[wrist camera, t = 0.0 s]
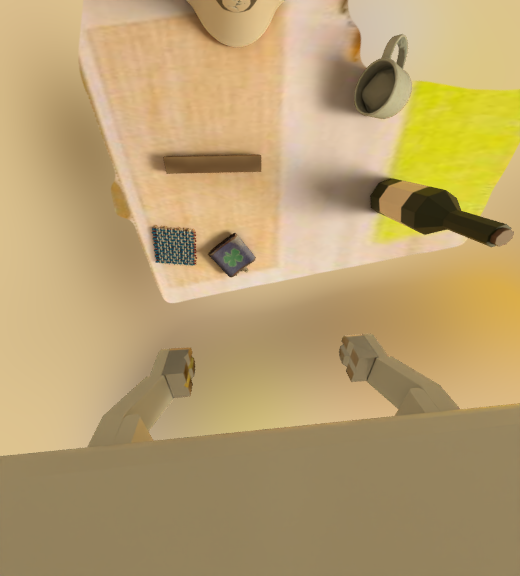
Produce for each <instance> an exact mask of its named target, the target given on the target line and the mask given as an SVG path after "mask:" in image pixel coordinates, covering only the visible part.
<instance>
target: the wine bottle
mask: <svg viewBox="0 0 520 576" xmlns="http://www.w3.org/2000/svg"><path fill="white" fill-rule="evenodd" d="M370 197H371V208H372V209H374V210H375V211H377V212H379V213H380V214H383V215H385V216H387V217H389V218H391V219H393V220H395V221H397V222H399V223H401V224H403V225H405V226H408V227H410V228H412V229H414V230H416V231H418V232H420V233H422V234H424V235H426V234H430V233H434V232H438V231H442V230H446V229H448V230H450V231H453V232H455V233H458V234H460V235H463V236H465V237H468V238H470V239H473V240H475V241H478V242H480V243H483V244H485V245H488V246H490V247H493V246H502V245H505V244H507V243H508V242H509V241H510V240H511V239H512V238H513V235H514V232H513V231H512V230H511V227H509V226H508V225H507V224H504V223H500V222H497V221H493V220H490V219H487V218H483V217H480V216H477V215H473V214H470V213H467V212H463V211H461V209H460V206H459V203H458V200H457V198H456V197H454V196H453V195H452V194H450V193H449V192H448V191H446V190H443V189H438V188H433V187H429V186H424V185H420V184H415V183H411V182H406V181H402V180H397V179H393V178H392V179H389V180H386V181H384V182H381V183H379V184H378V185H377V187H376V188H375V190H374V191H373V193H372V194H371V196H370Z"/></svg>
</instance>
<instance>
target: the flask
mask: <svg viewBox="0 0 520 576" xmlns="http://www.w3.org/2000/svg"><path fill="white" fill-rule="evenodd" d="M208 255H209V256H210V257H211V258H212V259H213V260H214V261H215V262H216V263H217V265H219V266H220V267H221V269H222V270H223V271H224V272H225V273H226V274H227V275H228V276H229V277H234V276H237V273H239V272H240V271H245V272H246V271H247V272H248V271H249V270H248V269H247V268H246V266H248V265H249V264H250V263H252V262H254V261H255V258H256V257H255V256H254V255H253V254H252V252H251V251H250V250H249V249H248V247H247V246H246V245H245V244H244V242H243V241H242V240H241V239H240V238H239V236H238V235H237V234H236V233H233V234H232V235H230V236H229V237H227V238H226V239H225V240H223V242H221V243H219V244H218V245H217V246H216V247H215V248H213V249H212V250H211V251H210V252H209V254H208Z"/></svg>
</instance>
